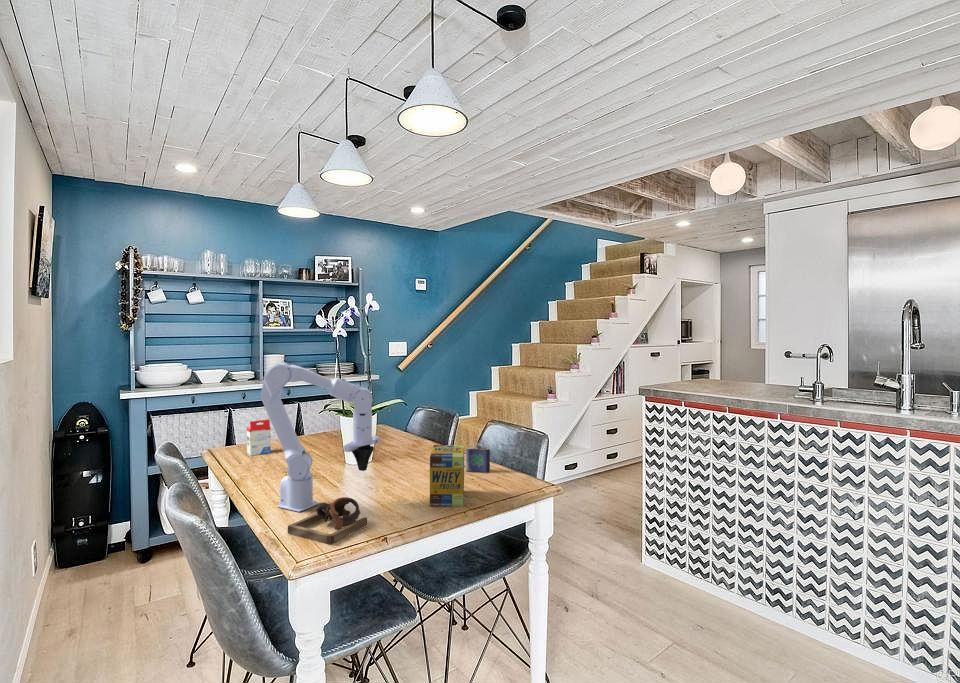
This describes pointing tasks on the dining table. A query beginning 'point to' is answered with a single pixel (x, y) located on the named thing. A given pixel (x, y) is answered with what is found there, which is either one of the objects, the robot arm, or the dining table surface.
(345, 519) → the dark brown curved piece
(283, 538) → the dining table surface
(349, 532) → the walnut open-sided frame
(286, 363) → the robot arm
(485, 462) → the navy clover print box
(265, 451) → the ink box
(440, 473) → the protein box
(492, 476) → the dining table surface
